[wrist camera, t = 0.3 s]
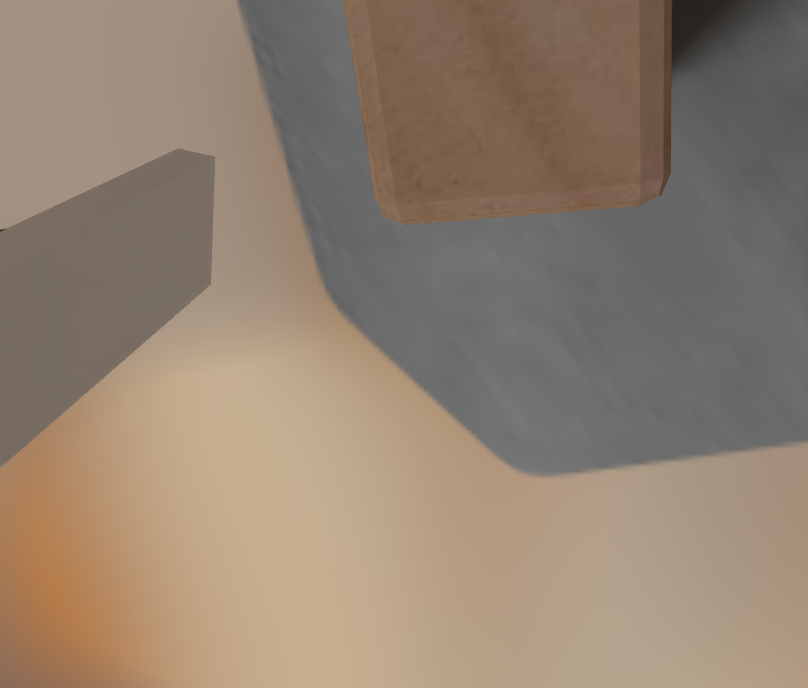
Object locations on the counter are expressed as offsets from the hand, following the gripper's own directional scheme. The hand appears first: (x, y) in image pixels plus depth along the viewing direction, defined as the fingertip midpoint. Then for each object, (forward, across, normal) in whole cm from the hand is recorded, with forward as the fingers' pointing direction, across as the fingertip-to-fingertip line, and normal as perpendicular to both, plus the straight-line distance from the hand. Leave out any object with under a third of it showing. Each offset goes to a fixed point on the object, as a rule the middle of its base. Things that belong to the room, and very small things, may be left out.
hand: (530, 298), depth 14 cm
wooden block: (+31, -2, +2) cm, 31 cm away
